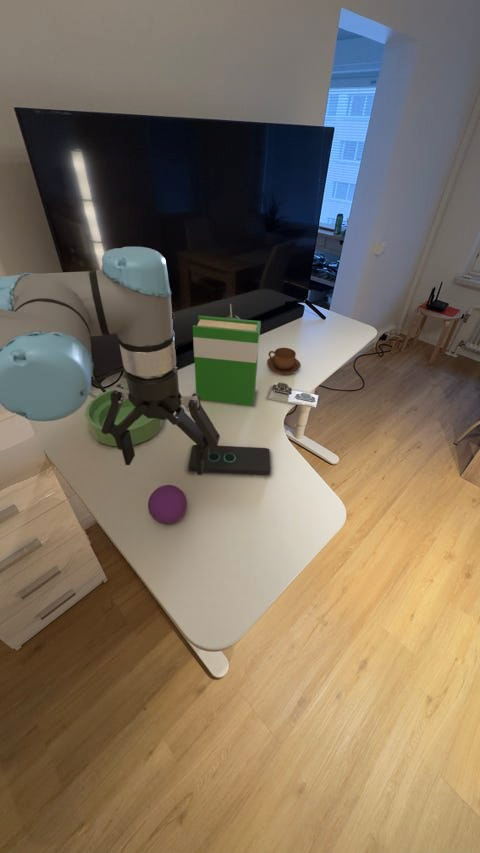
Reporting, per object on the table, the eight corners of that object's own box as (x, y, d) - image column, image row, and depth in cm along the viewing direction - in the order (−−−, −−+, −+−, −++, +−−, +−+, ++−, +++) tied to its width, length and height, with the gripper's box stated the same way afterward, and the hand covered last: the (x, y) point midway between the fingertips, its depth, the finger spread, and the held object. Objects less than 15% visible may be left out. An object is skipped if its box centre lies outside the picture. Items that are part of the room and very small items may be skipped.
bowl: (75, 435, 92) (69, 418, 88) (120, 396, 106) (116, 380, 102) (137, 456, 87) (134, 439, 83) (175, 412, 101) (174, 396, 97)
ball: (143, 523, 73) (137, 500, 67) (162, 495, 78) (159, 472, 73) (176, 536, 71) (173, 514, 65) (194, 507, 76) (192, 484, 71)
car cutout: (268, 398, 108) (269, 386, 106) (272, 387, 113) (274, 375, 110) (315, 408, 106) (318, 396, 103) (318, 396, 111) (320, 384, 108)
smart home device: (192, 443, 89) (269, 447, 89) (192, 448, 90) (268, 451, 90) (188, 467, 83) (270, 471, 83) (188, 471, 84) (269, 475, 84)
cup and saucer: (264, 374, 119) (265, 358, 115) (268, 357, 128) (270, 342, 124) (298, 379, 118) (301, 363, 114) (300, 361, 127) (303, 346, 123)
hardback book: (196, 399, 107) (192, 326, 91) (201, 386, 112) (198, 315, 96) (252, 405, 105) (258, 332, 90) (255, 391, 111) (260, 321, 95)
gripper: (238, 362, 52) (234, 459, 66) (82, 345, 54) (110, 442, 68) (230, 390, 46) (227, 489, 60) (56, 370, 48) (92, 470, 62)
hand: (165, 464), depth 64 cm, fingers open, 13 cm apart
